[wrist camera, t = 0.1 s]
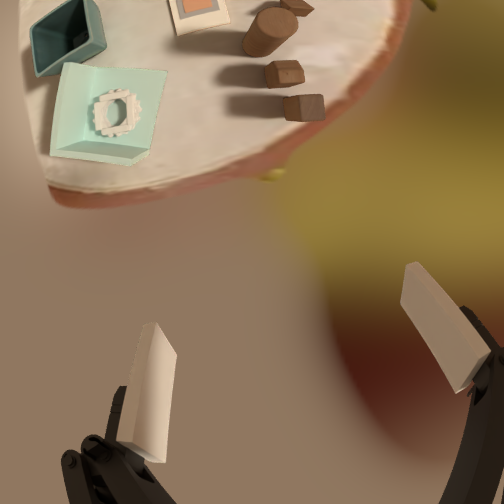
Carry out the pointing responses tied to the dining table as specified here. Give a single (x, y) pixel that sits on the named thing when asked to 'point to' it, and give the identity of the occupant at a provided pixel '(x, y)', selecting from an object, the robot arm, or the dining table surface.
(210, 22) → the card
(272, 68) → the wooden block set
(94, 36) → the flower pot
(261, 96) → the dining table surface
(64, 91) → the right angle wall
